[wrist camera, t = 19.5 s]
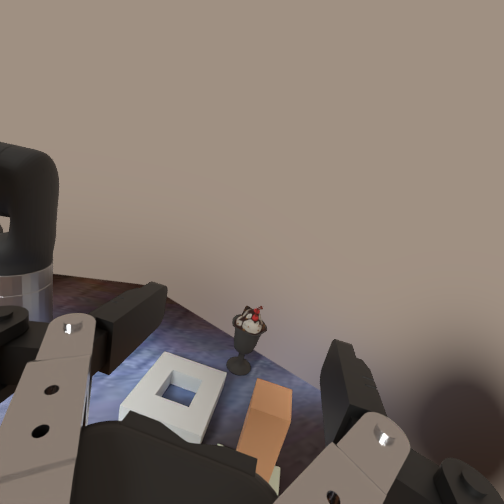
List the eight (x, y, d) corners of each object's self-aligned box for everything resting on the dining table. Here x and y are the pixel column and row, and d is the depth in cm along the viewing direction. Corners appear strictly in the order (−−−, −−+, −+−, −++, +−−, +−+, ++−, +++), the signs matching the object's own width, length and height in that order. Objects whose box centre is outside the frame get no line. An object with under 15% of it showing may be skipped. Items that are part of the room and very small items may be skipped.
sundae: (246, 385, 47) (266, 315, 43) (216, 367, 50) (232, 300, 45) (259, 364, 53) (278, 301, 49) (232, 350, 56) (247, 288, 51)
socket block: (118, 421, 36) (120, 405, 35) (162, 364, 47) (164, 351, 47) (197, 452, 35) (201, 436, 34) (223, 386, 46) (227, 372, 45)
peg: (220, 507, 29) (250, 407, 25) (230, 470, 33) (257, 378, 29) (254, 520, 29) (290, 421, 24) (259, 481, 32) (292, 389, 28)
